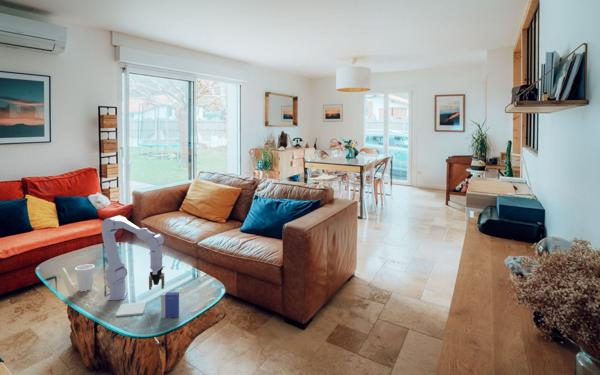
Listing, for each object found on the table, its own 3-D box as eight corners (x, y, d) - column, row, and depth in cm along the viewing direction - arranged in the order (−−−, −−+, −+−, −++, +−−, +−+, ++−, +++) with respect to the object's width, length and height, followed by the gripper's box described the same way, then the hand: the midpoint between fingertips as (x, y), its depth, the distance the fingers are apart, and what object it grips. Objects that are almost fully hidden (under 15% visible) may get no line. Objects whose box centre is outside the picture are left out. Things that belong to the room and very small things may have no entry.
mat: (121, 305, 177) (121, 304, 177) (146, 303, 180) (146, 301, 180) (115, 316, 165) (115, 315, 165) (142, 314, 169) (142, 312, 169)
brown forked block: (150, 286, 183) (150, 273, 182) (164, 285, 185) (164, 272, 184) (149, 289, 178) (148, 276, 178) (163, 288, 180) (163, 275, 180)
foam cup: (84, 285, 199) (83, 263, 198) (99, 286, 198) (98, 264, 197) (71, 292, 190) (70, 269, 188) (86, 293, 189) (86, 270, 187)
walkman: (179, 314, 169) (179, 291, 168) (177, 317, 167) (177, 294, 165) (162, 315, 169) (162, 291, 167) (161, 317, 166) (160, 294, 164)
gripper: (163, 262, 174) (163, 287, 175) (165, 253, 188) (166, 277, 189) (148, 262, 172) (148, 288, 173) (151, 253, 186) (152, 278, 187)
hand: (156, 282), depth 181 cm, fingers closed on brown forked block, 4 cm apart
